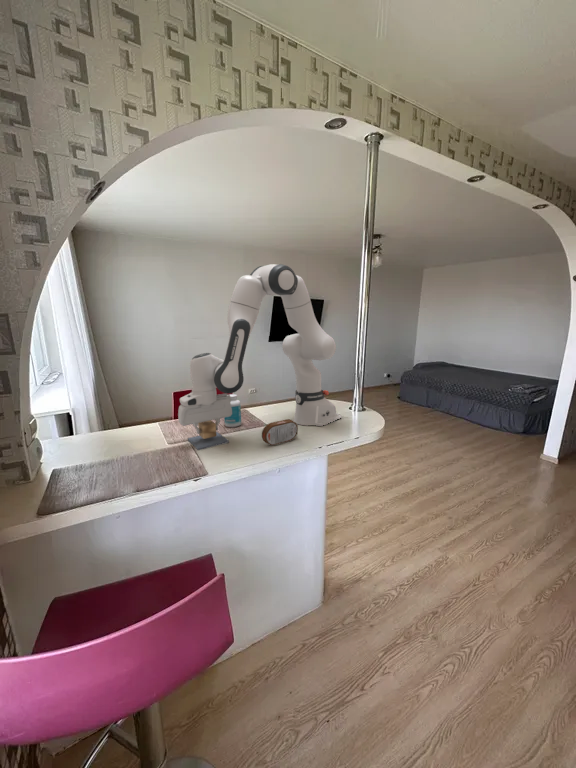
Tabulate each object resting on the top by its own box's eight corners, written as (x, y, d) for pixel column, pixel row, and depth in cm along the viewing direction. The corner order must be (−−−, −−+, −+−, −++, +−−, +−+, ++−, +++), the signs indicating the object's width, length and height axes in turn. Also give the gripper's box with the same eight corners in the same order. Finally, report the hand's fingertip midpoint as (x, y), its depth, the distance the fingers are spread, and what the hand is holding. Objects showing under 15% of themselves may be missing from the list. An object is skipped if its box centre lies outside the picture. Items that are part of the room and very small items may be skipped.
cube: (211, 432, 131) (210, 420, 130) (216, 436, 126) (215, 423, 125) (199, 435, 128) (198, 422, 127) (203, 439, 124) (202, 426, 123)
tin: (294, 437, 130) (294, 416, 129) (299, 439, 128) (299, 418, 126) (261, 446, 122) (260, 424, 120) (265, 448, 119) (265, 426, 118)
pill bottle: (243, 426, 144) (241, 396, 141) (226, 428, 141) (224, 398, 139) (239, 421, 151) (237, 392, 148) (223, 423, 148) (221, 394, 145)
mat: (216, 433, 136) (216, 431, 136) (228, 442, 126) (228, 440, 126) (187, 440, 129) (187, 438, 129) (198, 450, 120) (197, 447, 119)
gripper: (227, 391, 132) (229, 424, 135) (175, 399, 121) (178, 434, 124) (233, 394, 127) (235, 428, 130) (180, 402, 116) (183, 439, 119)
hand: (207, 431), depth 127 cm, fingers closed on cube, 5 cm apart
